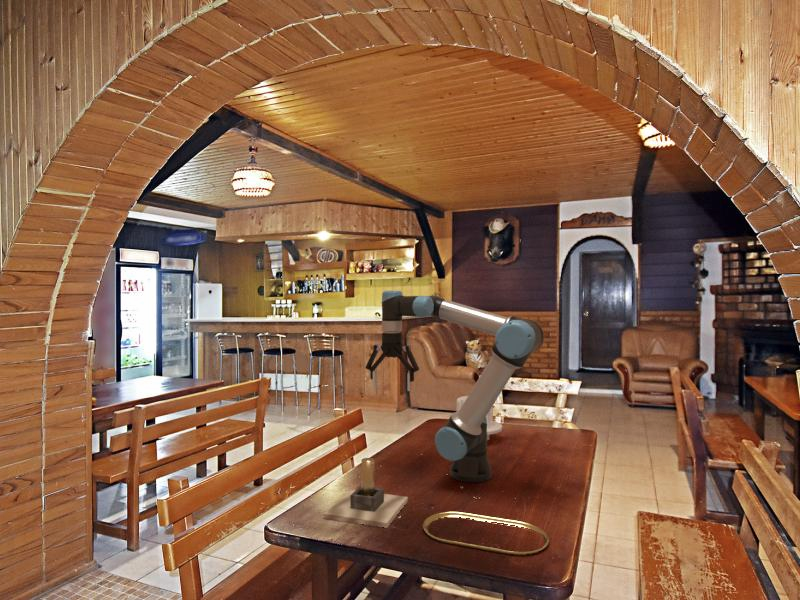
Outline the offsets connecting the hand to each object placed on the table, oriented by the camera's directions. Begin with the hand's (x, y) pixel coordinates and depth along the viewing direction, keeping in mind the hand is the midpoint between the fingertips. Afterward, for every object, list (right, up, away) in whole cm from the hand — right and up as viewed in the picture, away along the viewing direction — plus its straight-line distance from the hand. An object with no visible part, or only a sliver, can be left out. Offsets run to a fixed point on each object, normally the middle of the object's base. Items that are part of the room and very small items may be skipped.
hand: (392, 389), depth 192 cm
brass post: (-7, -31, -31) cm, 44 cm away
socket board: (-7, -32, -31) cm, 45 cm away
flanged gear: (+37, -31, +46) cm, 67 cm away
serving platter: (+26, -33, -47) cm, 63 cm away
